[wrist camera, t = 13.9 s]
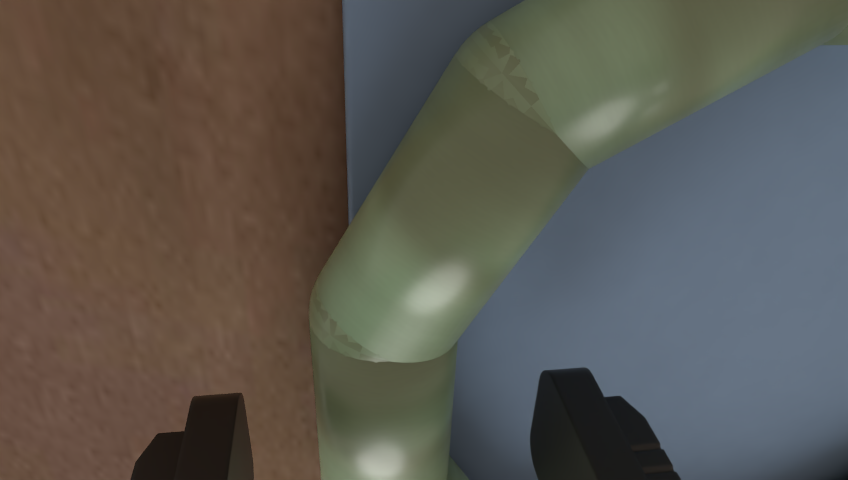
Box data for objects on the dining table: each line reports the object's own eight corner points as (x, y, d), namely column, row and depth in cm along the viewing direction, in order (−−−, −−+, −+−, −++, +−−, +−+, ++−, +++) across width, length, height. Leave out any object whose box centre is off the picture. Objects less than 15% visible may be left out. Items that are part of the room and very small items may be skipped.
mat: (358, 572, 17) (360, 594, 16) (338, -135, 9) (339, -134, 8) (900, 508, 19) (915, 526, 19) (1293, -100, 11) (1340, -98, 10)
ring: (333, 614, 17) (336, 720, 15) (276, -182, 8) (262, -193, 6) (921, 538, 19) (994, 621, 17) (1389, -135, 10) (1658, -130, 8)
